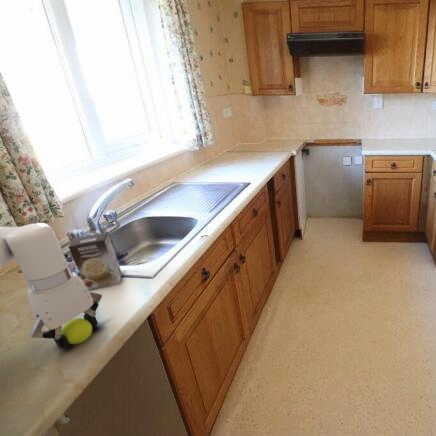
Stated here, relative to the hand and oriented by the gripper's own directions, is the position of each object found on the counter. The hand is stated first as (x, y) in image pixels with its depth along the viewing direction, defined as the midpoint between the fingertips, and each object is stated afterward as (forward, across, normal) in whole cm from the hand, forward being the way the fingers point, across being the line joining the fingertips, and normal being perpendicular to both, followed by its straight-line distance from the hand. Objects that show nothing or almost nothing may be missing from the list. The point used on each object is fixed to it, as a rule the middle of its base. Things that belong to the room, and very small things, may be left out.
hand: (79, 337), depth 79 cm
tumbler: (+1, -14, -30) cm, 33 cm away
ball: (-2, 0, 0) cm, 2 cm away
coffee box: (+1, -18, -18) cm, 25 cm away
